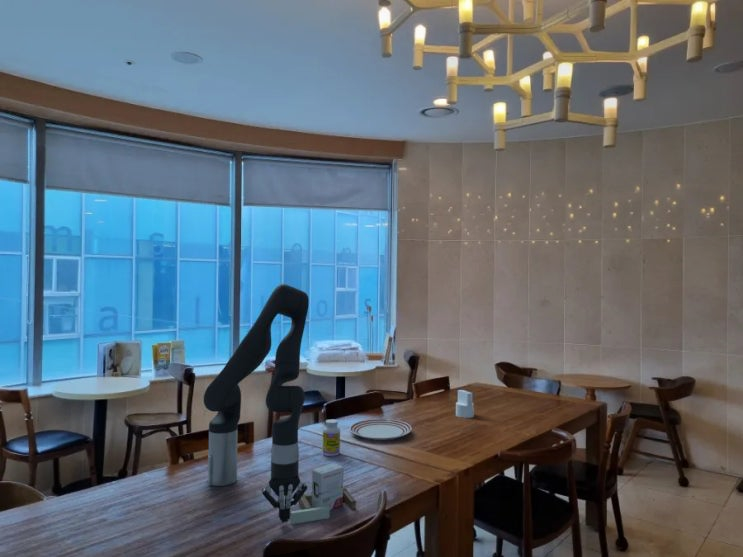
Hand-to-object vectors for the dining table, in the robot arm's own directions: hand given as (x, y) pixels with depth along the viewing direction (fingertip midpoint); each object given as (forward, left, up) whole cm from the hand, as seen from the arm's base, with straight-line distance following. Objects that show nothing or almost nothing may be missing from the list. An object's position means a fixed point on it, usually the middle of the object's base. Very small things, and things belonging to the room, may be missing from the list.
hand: (284, 520), depth 143 cm
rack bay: (+14, +8, -1) cm, 17 cm away
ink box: (+14, +6, -1) cm, 16 cm away
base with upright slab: (+109, +84, -1) cm, 138 cm away
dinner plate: (+57, +69, -2) cm, 90 cm away
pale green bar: (+7, 0, -1) cm, 7 cm away
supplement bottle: (+29, +51, -1) cm, 59 cm away
